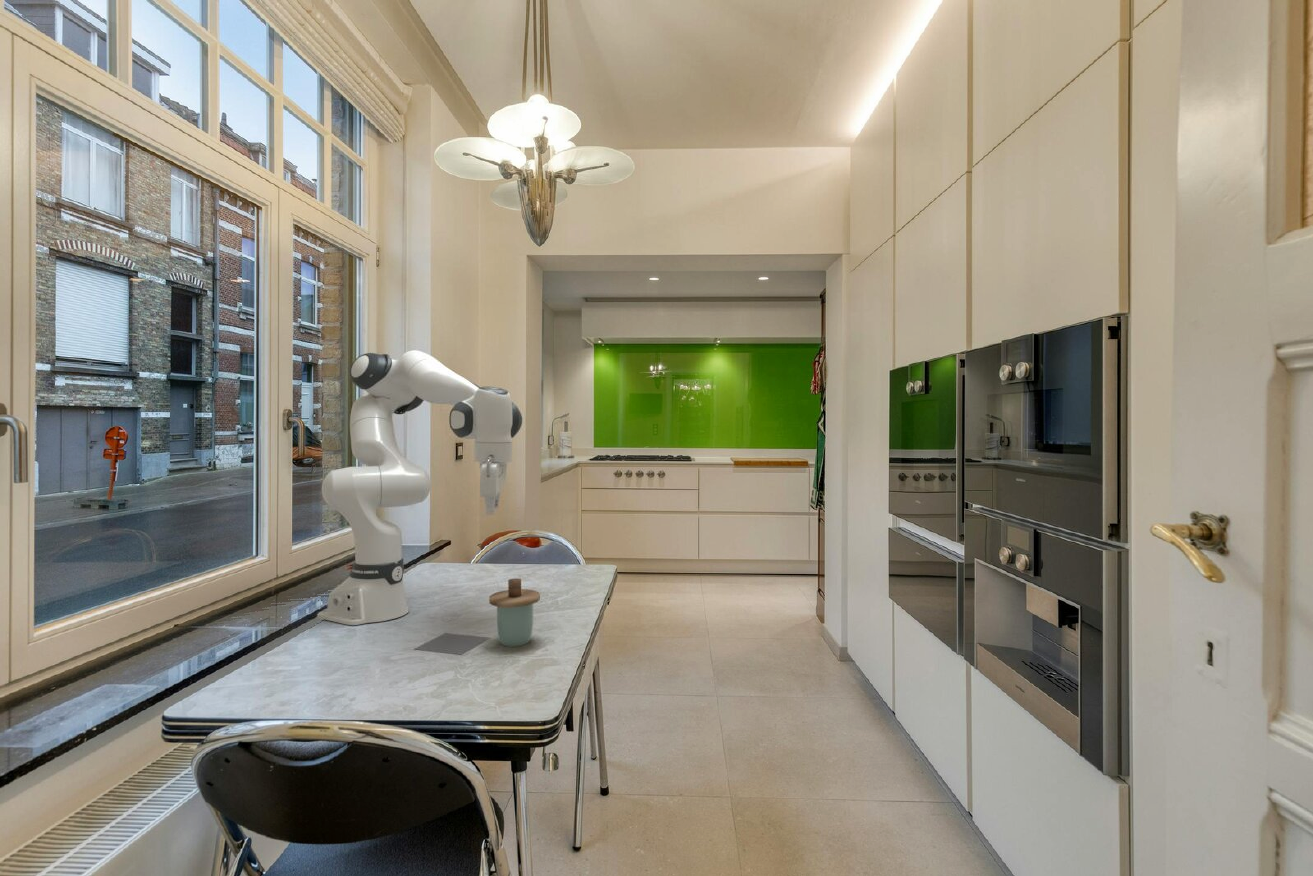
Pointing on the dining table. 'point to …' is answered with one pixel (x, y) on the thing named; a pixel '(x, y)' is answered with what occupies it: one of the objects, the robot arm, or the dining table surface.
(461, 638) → the mat
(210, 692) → the dining table surface
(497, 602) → the lid
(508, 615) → the cup
